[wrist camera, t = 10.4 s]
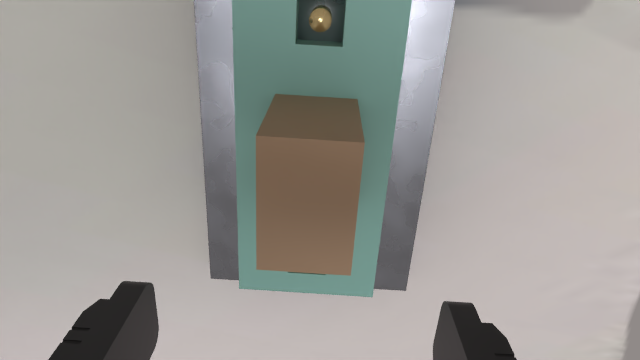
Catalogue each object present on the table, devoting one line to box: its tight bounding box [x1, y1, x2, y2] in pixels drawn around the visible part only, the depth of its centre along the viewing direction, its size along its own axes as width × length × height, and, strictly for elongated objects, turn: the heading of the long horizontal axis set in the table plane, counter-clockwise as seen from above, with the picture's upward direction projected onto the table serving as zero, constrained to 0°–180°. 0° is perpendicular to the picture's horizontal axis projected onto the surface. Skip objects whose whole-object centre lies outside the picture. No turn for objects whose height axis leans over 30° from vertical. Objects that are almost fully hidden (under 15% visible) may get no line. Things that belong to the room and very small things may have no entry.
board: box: [232, 0, 412, 297], centre depth 21 cm, size 18×8×8 cm, turn 177°
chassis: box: [194, 0, 455, 291], centre depth 26 cm, size 14×24×6 cm, turn 177°
